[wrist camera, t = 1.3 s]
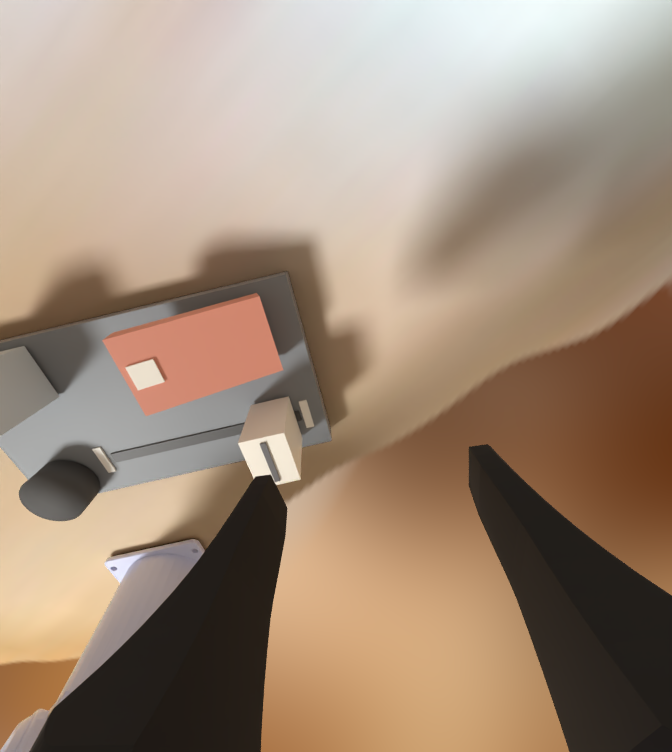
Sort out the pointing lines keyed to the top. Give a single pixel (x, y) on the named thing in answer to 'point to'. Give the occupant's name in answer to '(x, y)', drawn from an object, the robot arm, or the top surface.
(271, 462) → the slotted cream block
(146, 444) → the console
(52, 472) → the button
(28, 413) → the slotted white box
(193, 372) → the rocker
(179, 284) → the top surface
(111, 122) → the top surface
